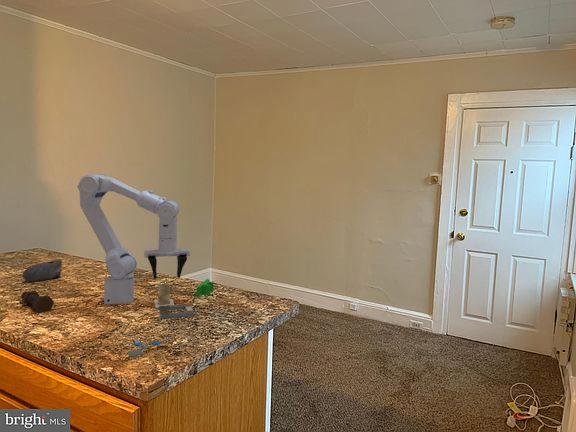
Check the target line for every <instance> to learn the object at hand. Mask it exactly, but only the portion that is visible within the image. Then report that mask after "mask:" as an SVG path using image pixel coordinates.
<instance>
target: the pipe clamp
mask: <svg viewBox="0 0 576 432" xmlns="http://www.w3.org/2000/svg"><path fill="white" fill-rule="evenodd" d="M214 288H215V287H214V281H210V279H208V278H206V279H205V280H204V281H202V282H201V283H200V284H198V285H197V286H196V297H201V296H202V295H205V296H210V293H211V292H214Z"/></svg>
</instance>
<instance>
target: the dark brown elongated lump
mask: <svg viewBox="0 0 576 432" xmlns="http://www.w3.org/2000/svg"><path fill="white" fill-rule="evenodd" d="M20 295H21V296H20V298H21V300H22V301H23V303H24V304H25V305H26V306H32V308H33V309H34V310H35V311H36V312H37V313H38V314H41V313H47V312H50V311H51V310H52V308H53V306H54V304H55V302H54V300H53V299H52V297H51V296H50V295H49V294H45V295H40V294H39V293H38V292H37V291H36V290H29V291H28V290H26V291H24V292H22V294H20Z"/></svg>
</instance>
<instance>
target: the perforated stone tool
mask: <svg viewBox="0 0 576 432" xmlns="http://www.w3.org/2000/svg"><path fill="white" fill-rule="evenodd" d="M62 265H63V263H62V261H61V259H60V260H51V261H45V262H40V263H37V264H34V265H31V266H29V267H27V268H26V269H25V270H24V271H23V272H22V279H24V281H27V282H37V281H38V282H39V281H40V282H41V281H47V280H52V279H54V278H55V279H56V278H59V277H60V276H61V274H62V273H61V272H62Z"/></svg>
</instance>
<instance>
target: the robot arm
mask: <svg viewBox="0 0 576 432" xmlns="http://www.w3.org/2000/svg"><path fill="white" fill-rule="evenodd" d="M77 189H78V191H79V205H80V208H81V210H82V212H83V214H84V216H85V217H86V219H87V221H88V223H89V225H90V227H91V228H92V230H93V233H94V234H95V236H96V238H97V240H98V242H99V243H100V246H102V248H103V251H104V252H105V260H104V261H105V263H106V265H107V272H108V274H109V277H104V282H103V283H104V285H103V289H104V294H103V297H102V298H103V303H104V305H116V304H117V305H123V304H130V303H133V302H134V301H135V273H134V271H135V270H136V268H137V265H138V262H137V260H136V258H135V257H134V256H133V255H131V253H130V251H129V250H128V249H126V248H125V247H123V246H122V244H121V242H120V240H119V238H118V237H117V235H116V233H115V231H114V229H113V228H112V225H111V223H110V222H109V220H108V218H107V216H106V214H105V213H104V210H103V209H102V207H101V203H102V200H103V198H104V196H105V195H106V194H107V193H109V192H114V193H116V194H119V195H121V196H123V197H126V198H128V199H131V200H134V201H136V204H137V206H138V207H140V208H142V209H143V210H147V211H148V212H150V213H153V214H155V215H157V217H158V219H159V221H158V222H159V223H158V249H151V250H150V249H149V250H144V251H143V253H144V254H143V257H144V259H145V258H146V259H147V260H148V263H149V265H150V268H151V269H152V270H151V271H152V276H153V279H154V280H157V277H158V276H157V275H158V273H157V265H158V264H157V263H158V262H157V261H158V260H157V258H158V257H176V259H177V262H176V263H177V266H176V268H177V270H176V277H177V278H181V275H182V272H183V267H184V266H185V264H186V262H187V260H188V257H190V256H191V250H190V249H189V248H187V249H186V248H184V249H181V248H179V249H178V248H177V239H178V238H177V237H178V234H177V233H178V215H179V212H180V206H179V205H178V203H177V202H176V201H175V200H172V199H170V200H167V197H165V196H163V197H162V196H159V195H157V194H155V193H154V190H151V189H150V190H143V191H140V190H138V189H136V188H134V187H131V186H130V185H127V184H126V183H124V182H122V181H120V180H118V179H116V178H114V177H111V176H107V175H106V174H91V173H90V174H85V175H83V176H82V177H81V178H80V180H79V182H78V184H77Z"/></svg>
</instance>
